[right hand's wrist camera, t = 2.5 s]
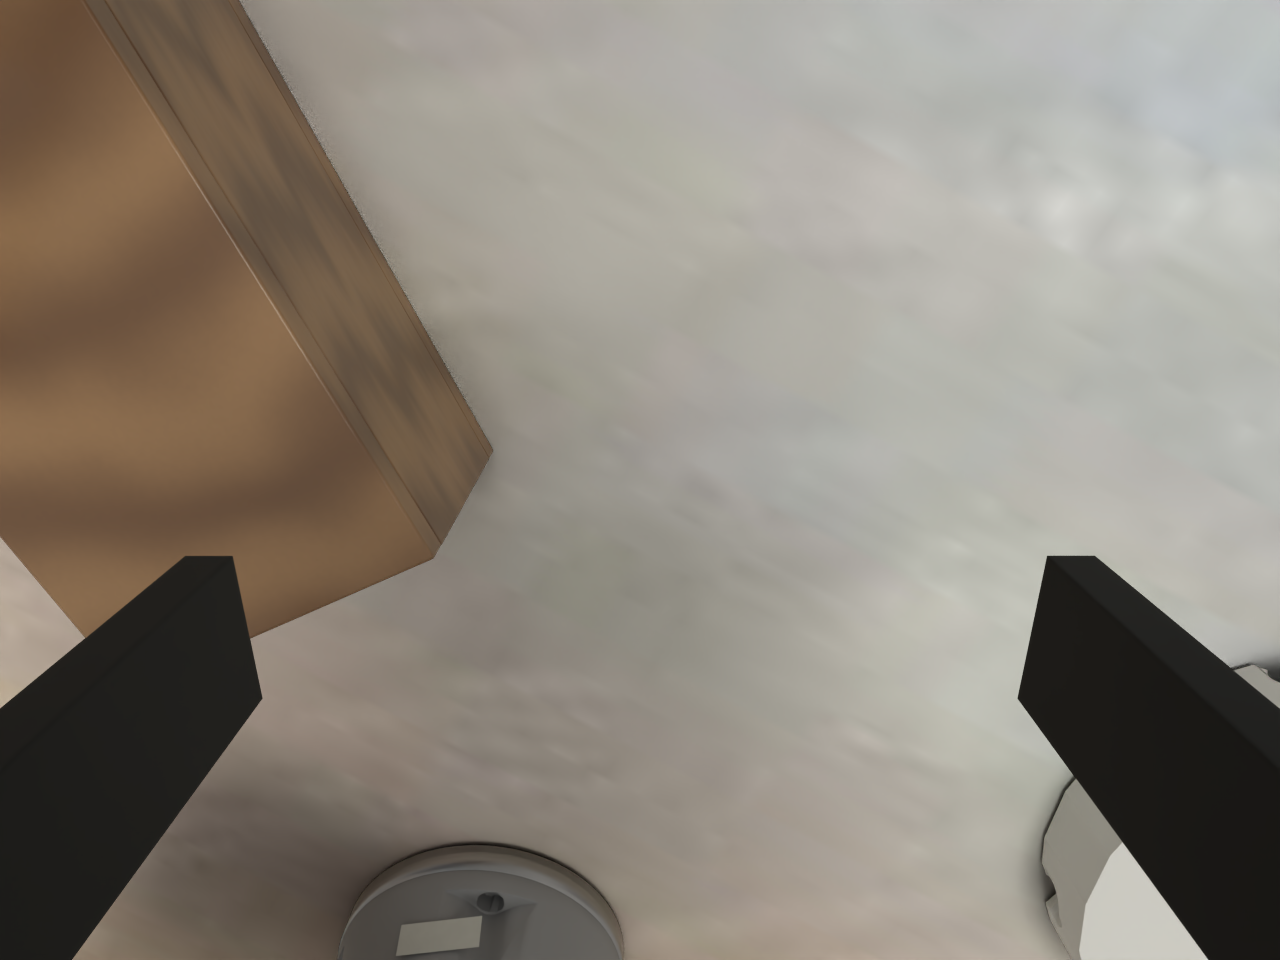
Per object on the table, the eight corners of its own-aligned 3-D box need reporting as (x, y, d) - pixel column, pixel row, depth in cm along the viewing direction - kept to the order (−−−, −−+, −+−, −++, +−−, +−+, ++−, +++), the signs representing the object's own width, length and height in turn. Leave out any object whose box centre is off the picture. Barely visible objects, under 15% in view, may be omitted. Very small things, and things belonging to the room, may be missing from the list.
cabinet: (-87, 57, 28) (-458, -4, 18) (177, -110, 26) (-86, -270, 16) (267, 554, 35) (129, 692, 25) (493, 450, 33) (434, 559, 24)
